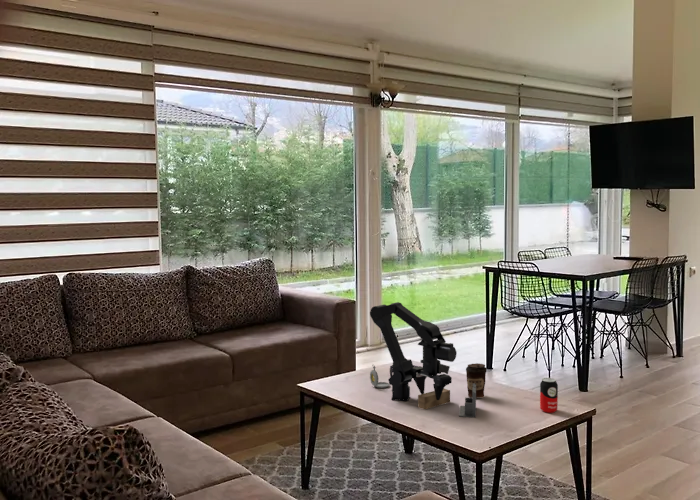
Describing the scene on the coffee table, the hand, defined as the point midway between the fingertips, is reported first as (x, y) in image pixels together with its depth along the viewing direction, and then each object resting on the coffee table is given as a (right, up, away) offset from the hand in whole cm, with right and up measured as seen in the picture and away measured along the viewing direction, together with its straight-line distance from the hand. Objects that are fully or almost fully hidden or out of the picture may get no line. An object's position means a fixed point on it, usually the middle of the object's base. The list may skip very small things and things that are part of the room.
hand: (430, 397), depth 265 cm
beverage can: (+44, -4, -8) cm, 45 cm away
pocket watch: (-19, -2, +27) cm, 33 cm away
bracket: (+13, -4, -8) cm, 16 cm away
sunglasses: (-5, 0, +43) cm, 44 cm away
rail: (+2, -4, +1) cm, 4 cm away
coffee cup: (+20, -2, +11) cm, 23 cm away
